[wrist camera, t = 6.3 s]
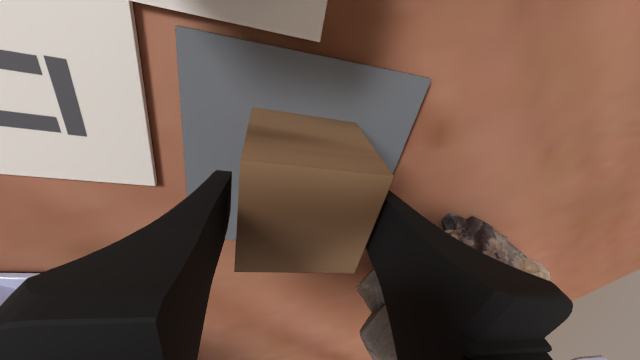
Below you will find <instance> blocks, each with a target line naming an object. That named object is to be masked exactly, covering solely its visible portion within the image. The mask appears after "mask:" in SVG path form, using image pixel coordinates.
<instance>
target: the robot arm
mask: <svg viewBox="0 0 640 360" xmlns="http://www.w3.org/2000/svg"><path fill="white" fill-rule="evenodd" d="M231 187H232V171H222V170H216V171H214V172H213V173H212V174H211V175H210V176H209V177H208V178H207V179H206V180H205V181H204V182H203V183H202V184H201V185H200V186H199V187H198V188H197V189H196V190H195V191H193V192H192V193H191V194H190V195H189V196H188V197H187V198H185V199H184V200H183V201H182V202H180V203H179V204H178V205H176V206H175V207H174V208H173V209H171V210H170V211H169V212H167V213H166V214H164V215H163V216H161V217H160V218H158V219H157V220H155V221H154V222H152V223H151V224H149V225H147V226H145V227H144V228H142V229H140V230H138V231H136V232H134V233H132V234H131V235H129V236H127V237H125V238H123V239H121V240H119V241H117V242H115V243H113V244H111V245H109V246H107V247H105V248H102V249H100V250H98V251H96V252H93V253H91V254H89V255H87V256H84V257H82V258H79V259H77V260H74V261H72V262H69V263H67V264H64V265H61V266H59V267H56V268H53V269H51V270H48V271H46V272H43V273H0V360H197V357H198V352H199V346H200V341H201V335H202V330H203V324H204V319H205V314H206V308H207V303H208V298H209V293H210V288H211V284H212V280H213V276H214V273H215V270H216V266H217V263H218V260H219V256H220V253H221V250H222V247H223V243H224V240H225V236H226V233H227V229H228V223H229V217H230V211H231ZM366 249H367V252H368V254H369V257H370V259H371V262H372V265H373V267H374V270H375V272H376V275H377V278H378V281H379V284H380V287H381V290H382V294H383V297H384V301H385V305H386V309H387V313H388V317H389V322H390V326H391V330H392V335H393V340H394V345H395V350H396V355H397V360H552V358H551V357H550V356H549V354H548V353H547V352H550V351H551V350H552V348H551V346H550V345H549V343H548V342H547V341H546V340H545V337H546V336H547V335H548V334H550V333H551V332H552V331H553V330H554V329H556V328H557V327H558V326H559V325H560V324H561V323H563V322H564V321H565V320H566V319H567V318H568V317H569V315H570V314H571V312H572V308H573V303H572V301H571V300H570V299H569V298H568V297H567V296H566V295H565V294H564V293H563V292H562V291H561V290H560V289H559V288H558V287H557V286H556V285H555V284H554V283H552V282H551V281H548V280H546V279H543V278H540V277H538V276H535V275H533V274H530V273H527V272H525V271H522V270H519V269H517V268H515V267H512V266H510V265H508V264H505V263H503V262H501V261H499V260H496V259H494V258H492V257H490V256H488V255H486V254H484V253H482V252H480V251H478V250H476V249H474V248H472V247H470V246H468V245H467V244H465V243H463V242H461V241H459V240H458V239H456V238H455V237H453V236H451V235H450V234H448V233H446V232H445V231H443V230H442V229H440V228H439V227H437V226H436V225H434V224H433V223H431V222H430V221H429V220H427V219H426V218H424V217H423V216H422V215H420V214H419V213H418V212H416V211H415V210H414V209H412V208H411V207H410V206H409V205H407V204H406V203H405V202H403V201H402V200H401V199H400V198H398V197H397V196H396V195H395V194H393V193H392V192H391V191H389V190H388V193H387V195H386V198H385V200H384V202H383V205H382V207H381V210H380V212H379V215H378V217H377V219H376V222H375V224H374V227H373V229H372V232H371V234H370V237H369V239H368V241H367V244H366ZM572 360H607V359H606V358H605V357H604V356H589V357H579V358H575V359H572Z"/></svg>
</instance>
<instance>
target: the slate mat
mask: <svg viewBox="0 0 640 360" xmlns="http://www.w3.org/2000/svg"><path fill="white" fill-rule="evenodd" d="M175 32H176V46H177V60H178V75H179V89H180V103H181V117H182V132H183V146H184V160H185V174H186V189H187V197H188V196H189V195H190V194H191V193H192V192H193V191H195V190H196V189H197V188H198V187H199V186H200V185H201V184H202V183H203V182H204V181H205V180H206V179H207V178H208V177H209V176H210V175H211V174H212V173H213V172H214V171H216V170H222V171H232V187H231V211H230V217H229V223H228V229H227V233H226V236H225V240H236V232H237V214H238V195H239V177H240V160H241V155H242V151H243V146H244V141H245V137H246V132H247V128H248V123H249V119H250V114H251V110H252V107H256V108H263V109H269V110H276V111H282V112H289V113H296V114H302V115H309V116H315V117H322V118H328V119H335V120H341V121H348V122H355V123H357V125H358V126H359V128H360V129H361V130H362V132H363V133H364V135H365V136H366V137H367V139H368V140H369V142H370V143H371V145H372V146H373V147H374V149H375V150H376V152H377V153H378V154H379V156H380V157H381V159H382V160H383V161H384V163H385V164H386V166H387V167H388V169H389V170H390V171H391V173H392V174H393V173H394V170H395V168H396V165H397V163H398V160H399V158H400V156H401V153H402V151H403V148H404V146H405V143H406V141H407V138H408V136H409V133H410V131H411V128H412V126H413V124H414V121H415V119H416V116H417V114H418V111H419V109H420V106H421V104H422V101H423V99H424V96H425V94H426V91H427V89H428V87H429V84H430V82H431V79H430V78H428V77H423V76H418V75H413V74H409V73H404V72H399V71H394V70H389V69H385V68H380V67H375V66H370V65H365V64H361V63H356V62H351V61H346V60H341V59H337V58H332V57H327V56H322V55H317V54H313V53H308V52H303V51H298V50H293V49H289V48H284V47H279V46H274V45H269V44H265V43H260V42H255V41H250V40H245V39H241V38H236V37H231V36H226V35H221V34H217V33H212V32H207V31H202V30H197V29H193V28H188V27H183V26H175Z"/></svg>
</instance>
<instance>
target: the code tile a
mask: <svg viewBox="0 0 640 360" xmlns="http://www.w3.org/2000/svg"><path fill="white" fill-rule="evenodd" d="M0 174H9V175H21V176H34V177H47V178H59V179H72V180H85V181H97V182H110V183H123V184H135V185H148V186H156V184H157V177H156V169H155V162H154V155H153V148H152V140H151V133H150V126H149V118H148V111H147V104H146V97H145V89H144V82H143V75H142V68H141V60H140V53H139V46H138V38H137V31H136V24H135V17H134V9H133V2H132V1H129V0H0Z"/></svg>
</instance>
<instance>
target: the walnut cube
mask: <svg viewBox="0 0 640 360" xmlns="http://www.w3.org/2000/svg"><path fill="white" fill-rule="evenodd" d="M393 178H394V176H393V174H392V173H391V171H390V170H389V169H388V167H387V166H386V164H385V163H384V161H383V160H382V159H381V157H380V156H379V154H378V153H377V152H376V150H375V149H374V147H373V146H372V145H371V143H370V142H369V140H368V139H367V137H366V136H365V135H364V133H363V132H362V130H361V129H360V128H359V126H358V125H357V123H355V122H348V121H341V120H335V119H328V118H322V117H315V116H309V115H302V114H296V113H289V112H282V111H276V110H269V109H263V108H256V107H252V110H251V114H250V119H249V123H248V128H247V132H246V137H245V141H244V146H243V151H242V155H241V160H240V177H239V195H238V214H237V232H236V251H235V269H234V272H289V273H355V271H356V268H357V266H358V263H359V261H360V258H361V256H362V254H363V251H364V249H365V246H366V244H367V241H368V239H369V237H370V234H371V232H372V229H373V227H374V224H375V222H376V219H377V217H378V215H379V212H380V210H381V207H382V205H383V202H384V200H385V198H386V195H387V193H388V190H389V188H390V185H391V183H392V181H393Z"/></svg>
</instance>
